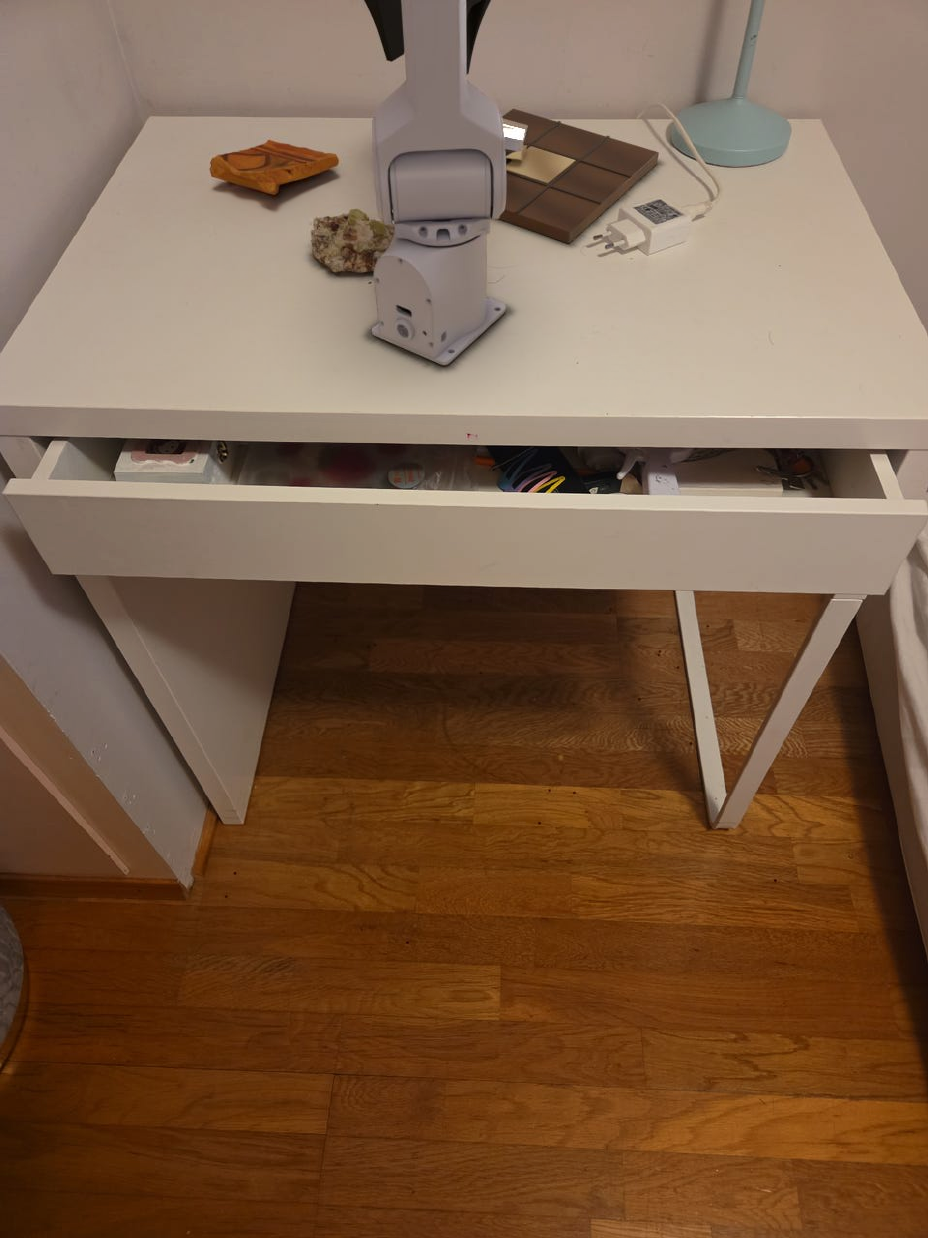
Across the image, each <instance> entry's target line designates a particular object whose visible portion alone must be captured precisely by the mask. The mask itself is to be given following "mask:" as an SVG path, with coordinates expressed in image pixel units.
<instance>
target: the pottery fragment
mask: <svg viewBox="0 0 928 1238" xmlns="http://www.w3.org/2000/svg"><path fill="white" fill-rule="evenodd" d="M339 164H340V159H339V157H338V155H337V153H333V152H332V153H331V152H324V151H319V150H314V149H310V148H308V147H304V146H302V147H301V146H296V145H292V144H290V143H282V142H278V141H274V140H271V139H268V140H267V141H266V142H265V143H262V144H259V145H255V146H253V147H249V148H246V149H241V150H239V151H231V152H228V153H222V154H216V156H214V157H212V158H211V159H210V164H209V165H210V167H209V168H208V169H209V172H210V177H211V178H216V179H217V180H222V181H224V182H228V183H232V184H234V185H238V186H242V187H245V188H248V189H253V190H256V191H259V192H261V193H263V194H269V195H273V196H275V195H276V194H278V193H279V188H280V186H281V185H284V184H288V183H291V182H296V181H299V180H303V179H307V178H309V177H312V176H316V175H319V174H320V173H321V174H322V173H323V172H326V171H328V170H330V169H333V168H335V167H337V166H338V165H339Z"/></svg>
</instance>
